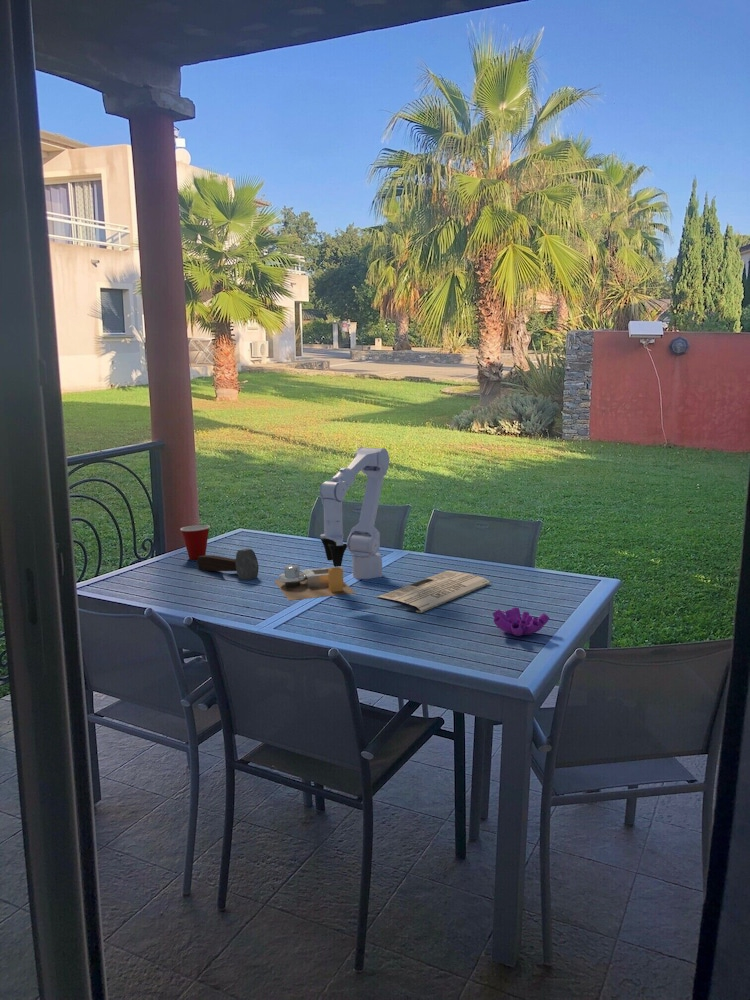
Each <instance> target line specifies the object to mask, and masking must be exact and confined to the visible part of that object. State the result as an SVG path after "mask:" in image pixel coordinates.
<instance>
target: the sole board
mask: <svg viewBox="0 0 750 1000" xmlns="http://www.w3.org/2000/svg"><path fill="white" fill-rule="evenodd" d="M274 582H275V584H276V586H277V587H278V588H279V589H280V591H281V593H283V595H284V596H285V597H286V598H287V600H288V601H289V602H290V601H298V600H307V599H316V598H325V597H335V596H342V595H351V594H356V591H354V590H353V588H351V587H350V586H349V585H348V584H347V583H346V582H345V581H344V580H343V591H336V592H330V591H329V585H325V586H316V587H307V586H306V585H305V584H304V582H303V581H302V582H300V586H298V587H286V586H285V583H284V582H280V581H279V579H278V580H274Z"/></svg>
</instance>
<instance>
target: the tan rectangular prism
mask: <svg viewBox="0 0 750 1000" xmlns="http://www.w3.org/2000/svg"><path fill="white" fill-rule="evenodd" d="M333 567H334V566H333ZM327 568H328V567H327ZM343 571H344V569H343V567H342V566H338V567H334V568H328V584H329V591H330V592H336V591H343V581H344V572H343Z"/></svg>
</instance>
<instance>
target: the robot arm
mask: <svg viewBox="0 0 750 1000" xmlns="http://www.w3.org/2000/svg"><path fill="white" fill-rule="evenodd" d="M389 463H390V456H389V451H388V450H387V449H386V448H383V447H382V448H378V447H377V448H376V447H363V446H359V447H358V448H357V450H355V453H354V458H353V460H352V461H351V462H350V463H349V465H348V466H347V467H341V468H340V469H339V470H338V472H337V473H336V474H335V475H334V476H333V477H332V478H331V479H329V480H326V481H324V482H322V484H321V485H320V487H319V492H318V495H319V497H320V499H321V505H322V506H323V531H324V532H323V533H321V534H320V535H319V536H320V541H321V543H322V544H323V548H324V551H325V556H326V560H327V561H332V564H333V567H342V564H343V558H344V555H345V551H346V550H348V551H349V552H350V555H352V578H354V579H357V580H369V579H370V580H371V579H374V578H375V579H376V578H382V577H383V559H382V555H381V553H379V551H380V547H381V532H380V531H379V530H378V529H377V528H376V527H375V523H376V520H377V519H376V518H377V514H378V513H377V512H378V508H379V503H380V498H381V492H382V487H383V484H384V483H383V482H384V477H385V476H386V475H387V473H388V469H389ZM360 472H362V474H363V475H366V477H367V480H366V483H365V490H364V494H363V500H362V504H361V509H360V514H359V515H360V516H359V520H358V523H357V524H356V525H354V526H353V527H352V528H351V529H350V532H349V535H348V537H347V539H346V543H344V531H343V530H344V527H343V524H344V523H343V521H344V520H343V500H344V499H345V498H346V495H347V492H348V489H349V488H350V487H351V486H352V485H353V483H354V482H356V475H357V474H359V473H360Z"/></svg>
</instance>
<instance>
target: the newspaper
mask: <svg viewBox="0 0 750 1000" xmlns="http://www.w3.org/2000/svg"><path fill="white" fill-rule="evenodd" d="M490 584H491V582H490V581H489V580H488V579H487V578H485V577H482V576H478V575H475V574H472V573H467V572H462V571H461V572H460V571H454V570H446V571H442V572H440V573H437V574H434V575H432V576H429V577H427V578H423V579H421V580H418V581H415V582H412V583H410V584H408V585H406V586H405V585H404V586H402V587H400V588H397V589H394V590H392V591H389V592H386V593H383V594H381V595H378V596H376V597H375V598H378V599H386V600H390V601H391V600H392V601H396V602H400V603H404V604H407V605H410V606H413V607H416V608H417V609H416V610H415V612H416V613H418V614H422V613H424V612H427V611H429V610H432V609H434V608H436V607H438V606H441V605H444V604H445V603H447V602H450V601H452V600H455V599H457V598H460V597H463V596H464V595H467V594H469V593H472V592H474V591H476V590H479V589H481V588H483V587H486V586H488V585H490Z"/></svg>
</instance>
